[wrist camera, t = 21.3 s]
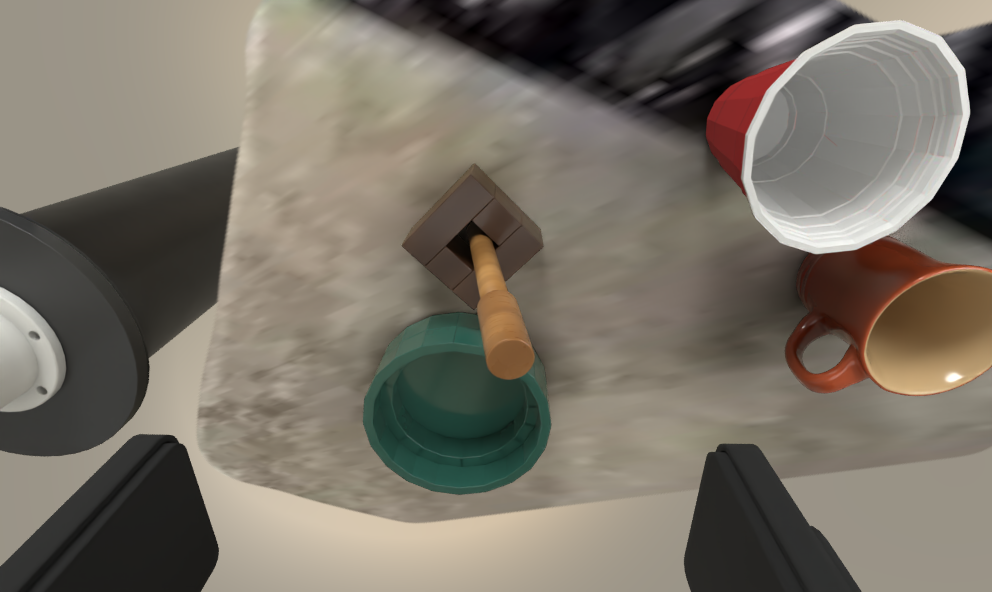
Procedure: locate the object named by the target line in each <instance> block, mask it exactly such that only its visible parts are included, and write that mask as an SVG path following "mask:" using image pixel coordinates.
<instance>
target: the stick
mask: <svg viewBox="0 0 992 592" xmlns="http://www.w3.org/2000/svg"><path fill="white" fill-rule="evenodd" d="M467 234H468V239H469V244H470V250H471V255H472V260H473V265H474V270H475V275H476V280H477V285H478V290H479V295H480V300H479V302H478V305H477V314H478V320H479V325H480V331H481V337H482V342H483V348H484V354H485V359H486V364H487V367H488V369H489V371H490V372H491V373H492V374H493V375H494V376H496V377H498V378H501V379H506V380H511V379H516V378H519V377H521V376H523V375H525V374H526V373H527V372H528V371H529V370H530V369H531V367H532V366H533V363H534V359H535V354H534V350H533V347H532V344H531V342H530V339H529V336H528V333H527V330H526V327H525V324H524V321H523V318H522V315H521V312H520V309H519V306H518V303H517V300H516V298H515V297H514V296H513V295H512V294H511V293H509V292H508V290H507V287H506V284H505V280H504V277H503V274H502V271H501V268H500V265H499V261H498V258H497V255H496V252H495V249H494V246H493V242H492V239H491V238H490V237H489V236H488V235H487V234H486V233H485V232H484V231H483V230H481V229H480V228H479V227H478V226H477V225H476V224H475V223H474V222H472V223H470V224H469V226H468V228H467Z"/></svg>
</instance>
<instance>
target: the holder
mask: <svg viewBox="0 0 992 592" xmlns="http://www.w3.org/2000/svg"><path fill="white" fill-rule="evenodd" d="M471 220H472V221H473V222H474V223H475V224H476V225H477V226H478V227H479V228H480V229H481V230H483V231H484V232H485V233H486V234H487V235H488V236H489V237H490V238H491V239H492V242H493V246H494V249H495V252H496V255H497V258H498V261H499V265H500V268H501V271H502V274H503V277H504V280H505V281H507V280H508V279H509V278H510V277H511V276H512V275H513V274H514V273H515V272H517V271H518V270H519V269H520V268H521V267H522V266H523V265H524V264H525V263H526V262H528V261H529V260H530V259H531V258H532V257H533V256H534V255H535V254H536V253H537V252H539V251H540V250H541V249H542V248H543V247H544V245H543V240H542V234H541V229H540V228H539V227H538V226H537V225H536V224H535V223H534V222H533V221H532V220H531V219H530V218H529V217H528V216H527V215H526V214H525V213H524V212H523V211H522V210H521V209H520V208H519V207H518V206H517V205H516V204H515V203H514V202H513V201H512V200H511V199H510V198H509V197H508V196H507V195H506V194H505V193H504V192H503V191H502V190H501V189H500V188H499V187H498V186H497V185H496V184H495V183H494V182H493V181H492V180H491V179H490V178H489V177H488V176H487V175H486V174H485V173H484V172H483V171H482V170H481V169H480V168H479V167H478V166H477V165H476V164H473V165H472V166H471V167H470V168H469V169H468V170H467V171H466V172H465V173H464V175H463V176H462V177H461V178H460V179H459V180H458V181H457V182H456V183H455V184H454V185H453V186H452V187H451V188H450V189H449V190H448V191H447V192H446V193H445V194H444V195H443V196H442V197H441V198H440V199H439V200H438V201H437V203H436V204H435V205H434V206H433V207H432V208H431V209H430V210H429V211H428V212H427V213H426V214H425V215H424V216H423V217H422V218H421V219H420V220H419V221H418V222H417V223H416V224H415V225H414V226H413V227H412V228H411V230H410V232H409V234H408V235H407V237H406V239H405V240H404V242H403V244H402V247H403V248H404V249H406V250H407V251H408V252H409V253H410V254H411V255H412V256H413V257H415V258H416V259H417V260H418V261H419V262H420V263H421V264H422V265H424V266H425V267H426V268H427V269H428V270H429V271H430V272H431V273H433V274H434V275H435V276H436V277H437V278H438V279H439V280H440V281H442V282H443V283H444V284H445V285H446V286H447V287H448V288H449V289H451V290H452V291H453V292H454V293H455V294H456V295H457V296H458V297H459V298H461V299H462V300H463V301H464V302H465V303H466V304H467V305H468V306H470V307H471V308H472V309H473V310H475V309H476V308H477V305H478V302H479V300H480V295H479V290H478V285H477V280H476V275H475V270H474V265H473V260H472V255H471V250H470V246H469V245H468V244H467V243H466V242H465V241H464V240H463V239H462V238H461V237H459V236H458V235H457V234H458V233H459V232H460V231H461V230H462V229H463V228H464V227H465V226H466V225H467V224H468V223H469V222H470V221H471Z"/></svg>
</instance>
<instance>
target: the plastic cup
mask: <svg viewBox="0 0 992 592" xmlns="http://www.w3.org/2000/svg"><path fill="white" fill-rule="evenodd" d="M969 115H970V107H969V99H968V91H967V83H966V75H965V69H964V67H963V66H962V65H961V63H960V62H959V60H958V59H957V58H956V56H955V55H954V53H953V52H952V51H951V49H950V48H949V46H948V45H947V44H946V42H945V41H944V39H943V38H942V37H941V36H940V35H937V34H935V33H932V32H930V31H928V30H925V29H923V28H920V27H918V26H915V25H913V24H911V23H908V22H906V21H903V20H896V21H887V22H877V23H867V24H857V25H853V26H851V27H849V28H847V29H845V30H844V31H842V32H840V33H838V34H836V35H834V36H832V37H830V38H829V39H827V40H825V41H823V42H821V43H819V44H817V45H815V46H814V47H812V48H810V49H808V50H806V51H804V52H803V53H802V54H801V55H800V56H799V57H798V58H797V59H795V60H792V61H789V62H786V63H783V64H781V65H778V66H775V67H772V68H769V69H766V70H764V71H762V72H760V73H758V74H756V75H753V76H750V77H747V78H745V79H743V80H741V81H739V82H737V83H736V84H734V85H732V86H730V87H729V88H728V89H727V90H726V91H725V92H724V93H723V94H722V95H721V96H720V97H719V98H718V99H717V100H716V101H715V103H714V105H713V107H712V109H711V111H710V113H709V116H708V118H707V127H706V138H707V141H708V144H709V147H710V150H711V153H712V154H713V155H714V156H715V157H716V158H717V160H718V161H719V164H720V166H721V167H722V168H723V169H724V170H725V171H726V172H727V173H728V174H729V176H730V177H731V178H732V179H733V180H734V181H735V182H736V183H737V185H738V186H739V187H740V188H741V189H742V193H743V194H744V195H745V196H746V197H747V199H748V201H749V204H750V208H751V211H752V214H753V216H754V217H755V218H756V219H757V220H758V221H759V222H760V223H761V224H762V225H763V226H764V227H765V228H766V229H767V230H768V231H769V232H770V233H771V234H772V235H773V236H774V237H775V238H776V239H777V240H778V241H779V242H780V243H781V244H785V245H788V246H791V247H794V248H797V249H801V250H804V251H807V252H810V253H814V254H822V253H831V252H841V251H850V250H857V249H859V248H861V247H863V246H865V245H867V244H869V243H871V242H874V241H876V240H878V239H880V238H882V237H884V236H886V235H889V234H891V233H893V232H895V231H897V230H898V229H899V228H900V227H901V226H902V225H903V224H905V223H906V222H907V221H908V220H909V219H910V218H911V217H912V216H914V215H915V214H916V213H917V212H918V211H919V210H920V209H921V208H923V207H924V206H925V205H926V204H927V203H928V202H929V201H931V200H932V198H933V197H934V195H935V194H936V192H937V190H938V189H939V187H940V186H941V184H942V183H943V181H944V179H945V178H946V176H947V175H948V173H949V172H950V170H951V169H952V167H953V165H954V164H955V162H956V161H957V159H958V157H959V153H960V149H961V145H962V142H963V138H964V134H965V130H966V127H967V123H968V119H969Z"/></svg>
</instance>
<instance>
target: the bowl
mask: <svg viewBox="0 0 992 592" xmlns="http://www.w3.org/2000/svg"><path fill="white" fill-rule="evenodd" d="M532 347H533V346H532ZM533 350H534V354H535V359H534V363H533V366H532V367H531V369H530V370H529V371H528V372H527V373H526V374H525V375H523V376H521V377H519V378H516V379H511V380H506V379H501V378H498V377H496V376H494V375H493V374H492V373H491V372H490V371H489V369H488V367H487V364H486V359H485V354H484V348H483V342H482V337H481V331H480V325H479V320H478V315H476V314H469V313H462V312H456V313H448V314H441V315H433V316H430V317H428V318H426V319H424V320H421V321H419V322H417V323H415V324H413V325H411V326H408V327H407V328H406V329H404V330H403V331H402V332H401V333H400V334H399V335H398V336H397V337H396V338H395V339H394V340H393V341H392V342H391V343H390V344H389V345H388V347H387V349H386V351H385V353H384V355H383V358H382V360H381V362H380V364H379V366H378V368H377V371H376V373H375V375H374V377H373V380H372V382H371V384H370V387H369V389H368V391H367V394H366V396H365V399H364V411H363V425H364V428H365V431H366V434H367V437H368V440H369V443H370V445H371V447H372V448H373V450H374V451H375V452H376V453H377V455H378V456H379V457H380V459H381V460H382V461H383V463H384V464H385V465H386V466H387V467H388V468H390V469H391V470H392V471H394V472H395V473H397V474H398V475H399V476H401V477H402V478H403V479H405V480H406V481H408V482H410V483H413V484H416V485H418V486H421V487H423V488H426V489H428V490H431V491H435V492H443V493H450V494H457V495H462V494H472V493H482V492H488V491H490V490H493V489H496V488H499V487H501V486H504V485H507V484H510V483H512V482H514V481H515V480H516V479H518V478H519V477H520V476H522V475H523V474H525V473H526V472H527V471H529V470H530V469H531V468H532V467H533V465H534V464H535V463H536V461H537V460H538V458H539V457H540V456H541V454H542V453H543V451H544V450H545V448H546V445H547V441H548V437H549V433H550V429H551V416H550V408H549V399H548V390H547V383H546V376H545V369H544V366H543V364H542V362H541V360H540V358H539V357H538V355H537V353H536V351H535V349H534V348H533Z"/></svg>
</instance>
